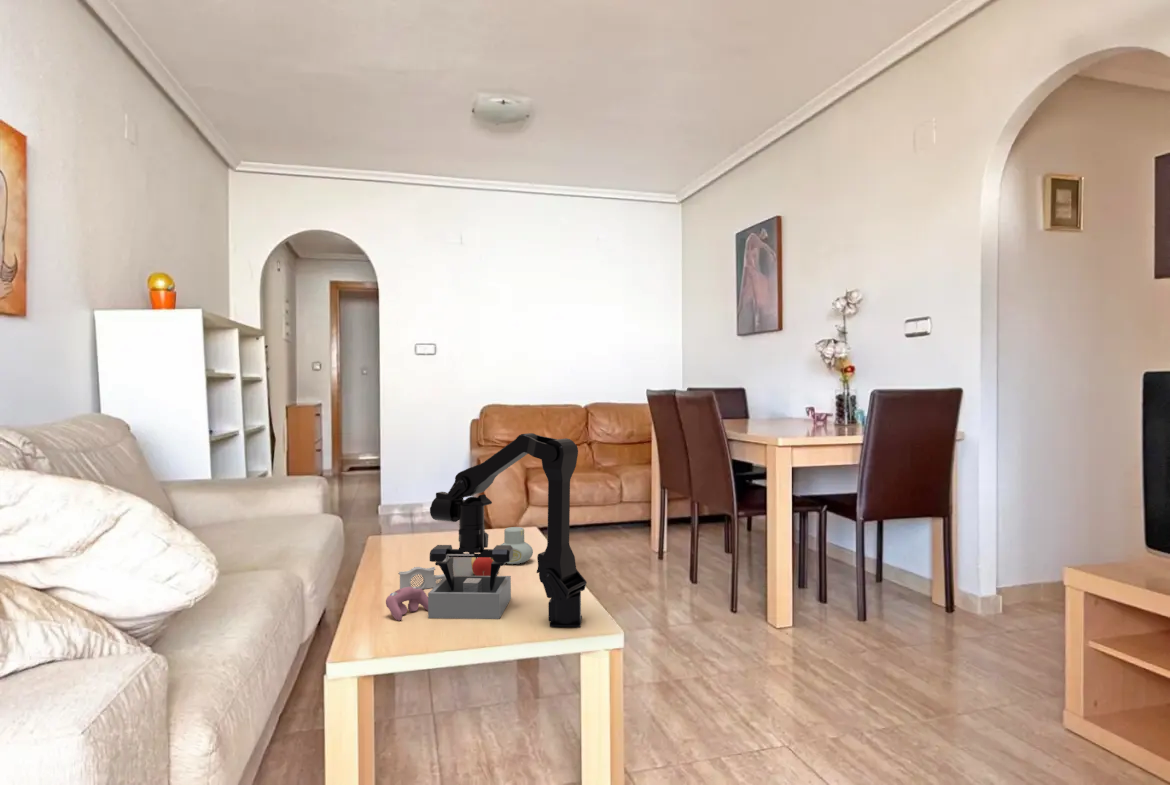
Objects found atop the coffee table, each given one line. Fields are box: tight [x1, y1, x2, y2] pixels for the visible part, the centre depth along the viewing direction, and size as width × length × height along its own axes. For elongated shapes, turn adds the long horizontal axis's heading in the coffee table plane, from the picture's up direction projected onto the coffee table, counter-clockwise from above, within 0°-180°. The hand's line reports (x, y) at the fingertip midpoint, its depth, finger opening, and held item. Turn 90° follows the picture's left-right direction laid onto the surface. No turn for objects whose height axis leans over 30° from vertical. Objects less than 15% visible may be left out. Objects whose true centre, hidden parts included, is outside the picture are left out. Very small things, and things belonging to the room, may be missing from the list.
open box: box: [427, 575, 512, 620], centre depth 157 cm, size 16×15×6 cm
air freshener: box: [500, 526, 534, 565], centre depth 200 cm, size 11×8×10 cm
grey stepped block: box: [463, 578, 482, 593], centre depth 156 cm, size 4×8×6 cm, turn 177°
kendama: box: [470, 557, 494, 576], centre depth 189 cm, size 8×6×18 cm
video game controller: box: [385, 586, 428, 622], centre depth 153 cm, size 10×5×7 cm, turn 141°
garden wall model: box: [398, 566, 445, 590], centre depth 173 cm, size 12×2×6 cm, turn 121°
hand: (472, 590), depth 158 cm, fingers open, 9 cm apart
